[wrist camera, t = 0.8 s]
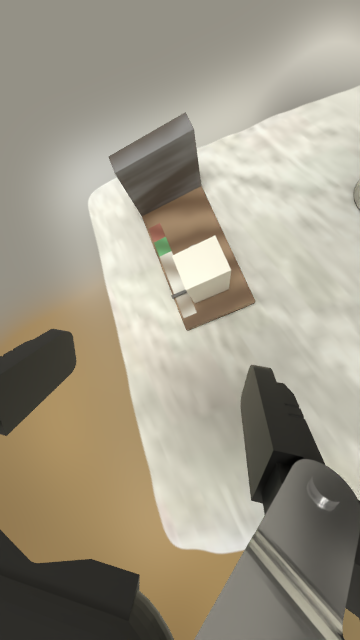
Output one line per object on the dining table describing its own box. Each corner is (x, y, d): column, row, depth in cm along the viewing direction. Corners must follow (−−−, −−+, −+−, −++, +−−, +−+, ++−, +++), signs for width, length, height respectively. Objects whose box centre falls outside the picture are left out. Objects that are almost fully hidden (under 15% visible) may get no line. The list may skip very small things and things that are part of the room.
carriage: (228, 289, 33) (231, 270, 25) (177, 310, 35) (163, 300, 26) (212, 252, 35) (209, 222, 26) (163, 274, 36) (145, 252, 27)
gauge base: (254, 303, 34) (269, 283, 23) (187, 330, 36) (172, 324, 25) (192, 170, 39) (180, 101, 28) (136, 200, 41) (104, 145, 30)
